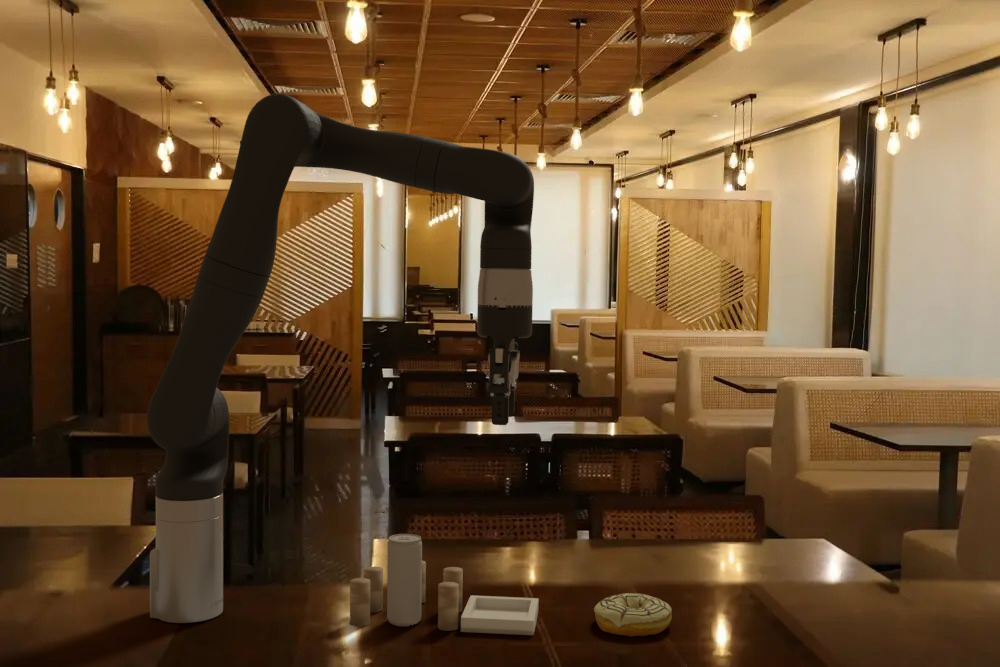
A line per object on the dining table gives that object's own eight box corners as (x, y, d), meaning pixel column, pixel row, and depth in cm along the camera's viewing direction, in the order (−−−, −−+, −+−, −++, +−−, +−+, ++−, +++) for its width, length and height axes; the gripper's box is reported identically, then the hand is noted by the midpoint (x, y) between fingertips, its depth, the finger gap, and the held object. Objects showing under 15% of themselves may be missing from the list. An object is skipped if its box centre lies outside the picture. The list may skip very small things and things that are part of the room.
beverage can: (415, 628, 141) (416, 543, 140) (382, 626, 141) (383, 540, 141) (425, 617, 145) (426, 534, 145) (392, 615, 146) (393, 532, 146)
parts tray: (460, 631, 140) (461, 617, 139) (470, 608, 149) (470, 595, 149) (533, 635, 138) (533, 620, 138) (538, 611, 148) (538, 598, 148)
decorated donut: (580, 620, 146) (581, 594, 146) (645, 611, 150) (645, 586, 150) (617, 644, 136) (618, 616, 136) (685, 634, 140) (685, 607, 140)
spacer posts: (347, 625, 141) (347, 583, 141) (369, 596, 154) (370, 557, 154) (456, 631, 140) (457, 588, 139) (469, 601, 153) (469, 562, 153)
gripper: (484, 301, 146) (482, 413, 147) (471, 302, 132) (469, 426, 133) (536, 302, 146) (534, 414, 146) (528, 303, 131) (526, 428, 132)
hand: (503, 420), depth 140 cm, fingers open, 8 cm apart
